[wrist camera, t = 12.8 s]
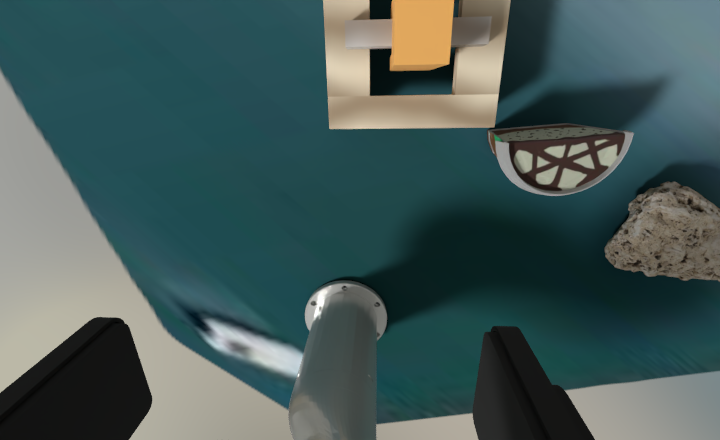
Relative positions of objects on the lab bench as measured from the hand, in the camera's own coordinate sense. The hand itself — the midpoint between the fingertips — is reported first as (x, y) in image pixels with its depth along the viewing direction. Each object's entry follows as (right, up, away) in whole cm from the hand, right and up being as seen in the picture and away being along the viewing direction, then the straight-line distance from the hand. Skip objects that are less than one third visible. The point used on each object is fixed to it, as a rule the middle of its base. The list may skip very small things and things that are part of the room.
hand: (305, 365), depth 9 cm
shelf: (+7, +24, +29) cm, 38 cm away
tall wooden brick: (+6, +21, +24) cm, 33 cm away
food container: (+22, +12, +33) cm, 42 cm away
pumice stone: (+40, +3, +36) cm, 54 cm away
